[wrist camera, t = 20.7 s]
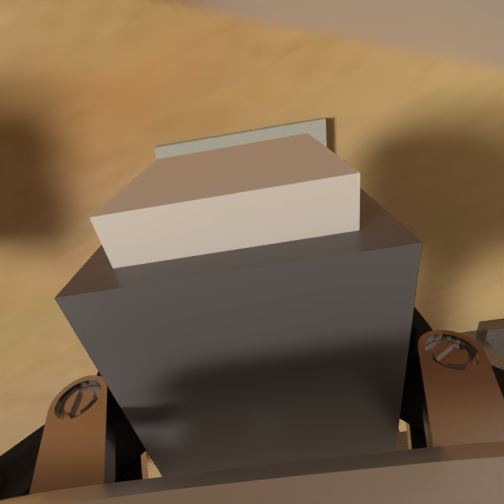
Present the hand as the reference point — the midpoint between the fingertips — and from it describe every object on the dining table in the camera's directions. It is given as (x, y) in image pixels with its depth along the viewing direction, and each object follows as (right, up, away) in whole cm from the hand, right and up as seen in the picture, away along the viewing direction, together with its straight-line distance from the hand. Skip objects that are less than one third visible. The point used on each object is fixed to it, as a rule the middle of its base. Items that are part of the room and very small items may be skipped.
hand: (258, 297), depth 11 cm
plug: (+1, -3, +3) cm, 4 cm away
